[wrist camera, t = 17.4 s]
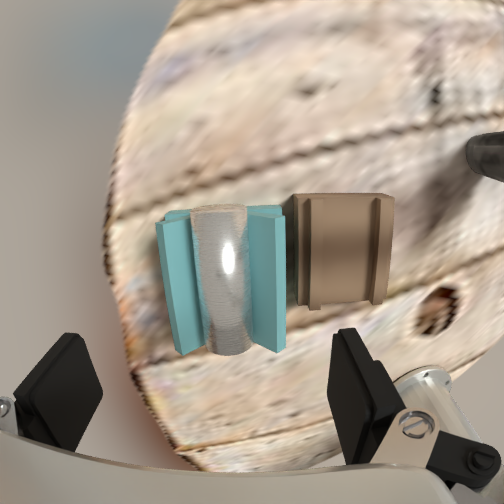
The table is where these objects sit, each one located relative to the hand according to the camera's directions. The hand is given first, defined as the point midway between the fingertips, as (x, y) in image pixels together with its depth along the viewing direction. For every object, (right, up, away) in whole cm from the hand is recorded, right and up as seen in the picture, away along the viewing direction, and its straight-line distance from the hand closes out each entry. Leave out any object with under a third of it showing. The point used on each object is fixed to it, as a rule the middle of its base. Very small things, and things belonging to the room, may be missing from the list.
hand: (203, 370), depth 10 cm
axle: (-1, +2, +17) cm, 18 cm away
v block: (-1, +3, +20) cm, 21 cm away
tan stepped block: (+10, +5, +20) cm, 23 cm away
